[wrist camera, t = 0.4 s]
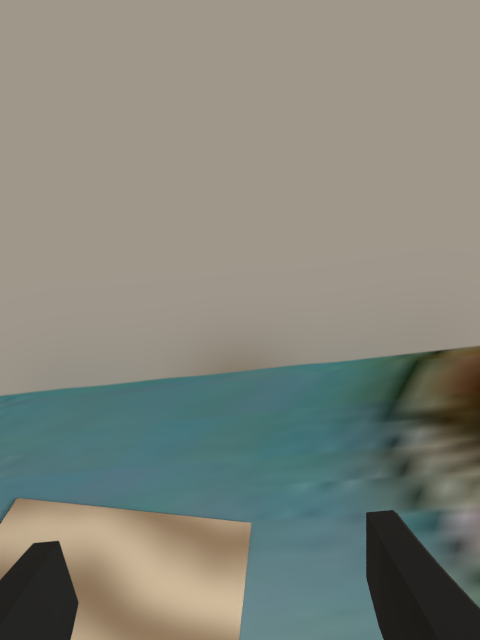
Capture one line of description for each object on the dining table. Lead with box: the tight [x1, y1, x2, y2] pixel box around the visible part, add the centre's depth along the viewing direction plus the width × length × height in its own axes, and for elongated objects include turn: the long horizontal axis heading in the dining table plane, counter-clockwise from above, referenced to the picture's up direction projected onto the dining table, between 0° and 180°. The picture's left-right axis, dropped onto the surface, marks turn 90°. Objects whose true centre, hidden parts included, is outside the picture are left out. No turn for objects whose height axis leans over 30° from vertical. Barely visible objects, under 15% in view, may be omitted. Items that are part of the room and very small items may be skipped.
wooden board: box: [0, 498, 251, 640], centre depth 28 cm, size 14×18×1 cm
